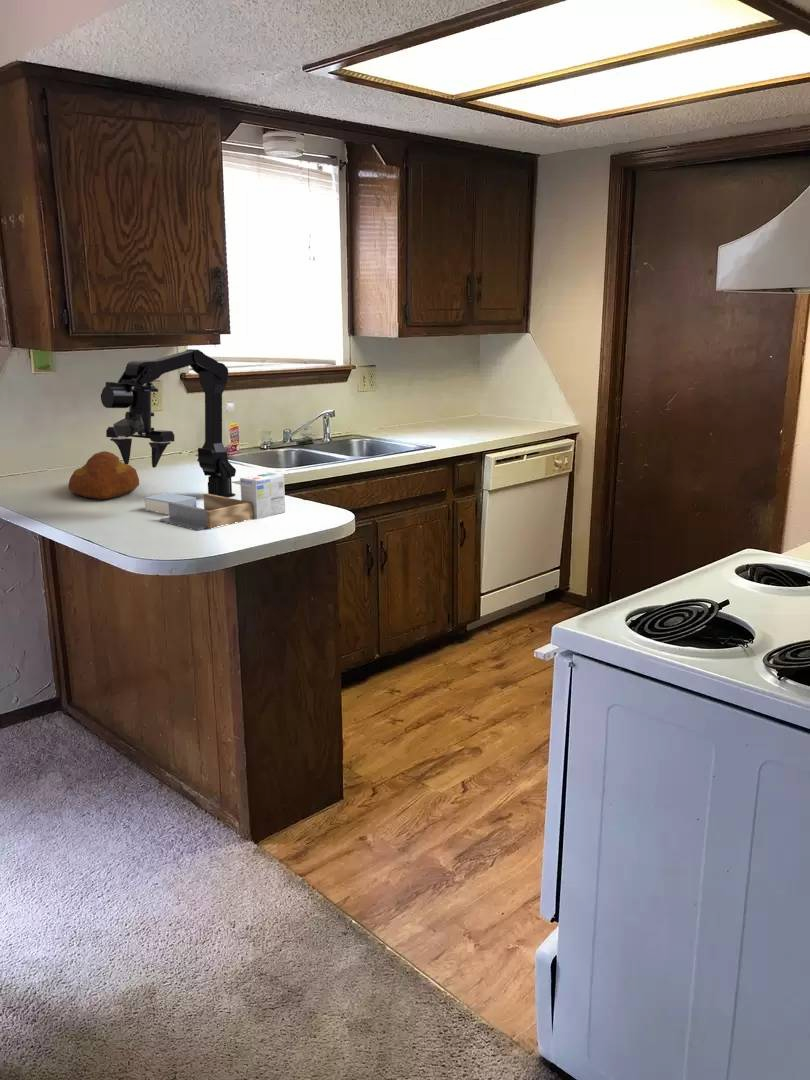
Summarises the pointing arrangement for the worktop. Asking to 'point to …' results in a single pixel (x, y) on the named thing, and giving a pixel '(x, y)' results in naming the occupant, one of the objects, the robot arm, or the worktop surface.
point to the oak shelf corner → (226, 510)
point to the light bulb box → (264, 493)
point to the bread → (103, 477)
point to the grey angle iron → (187, 516)
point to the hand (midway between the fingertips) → (140, 465)
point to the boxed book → (167, 501)
